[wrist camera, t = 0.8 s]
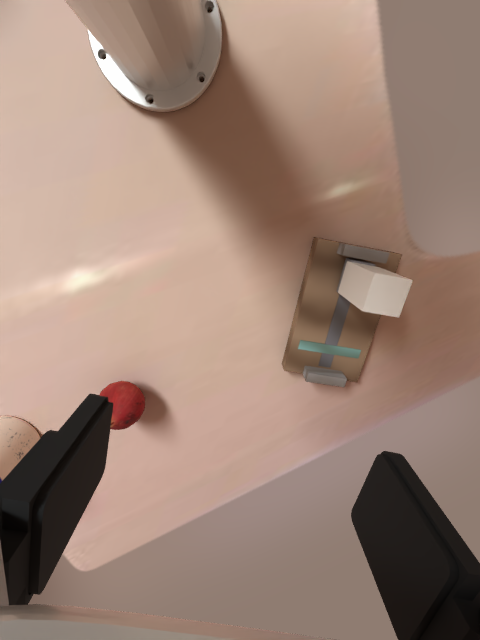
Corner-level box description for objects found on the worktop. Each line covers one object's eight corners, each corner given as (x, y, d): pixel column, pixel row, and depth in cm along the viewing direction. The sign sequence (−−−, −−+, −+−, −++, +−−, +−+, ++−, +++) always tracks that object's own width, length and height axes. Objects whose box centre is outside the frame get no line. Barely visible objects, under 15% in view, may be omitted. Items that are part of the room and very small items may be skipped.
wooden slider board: (314, 237, 37) (323, 239, 33) (393, 252, 38) (411, 256, 34) (281, 363, 42) (286, 378, 38) (351, 374, 43) (363, 390, 39)
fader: (342, 257, 35) (375, 270, 27) (372, 262, 36) (413, 277, 27) (332, 290, 37) (361, 313, 28) (361, 296, 37) (398, 319, 29)
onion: (157, 382, 43) (141, 418, 35) (141, 412, 44) (122, 454, 37) (118, 363, 42) (93, 397, 34) (102, 396, 43) (74, 434, 36)
